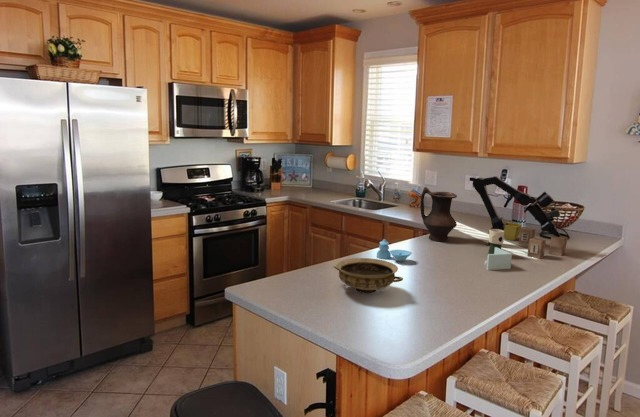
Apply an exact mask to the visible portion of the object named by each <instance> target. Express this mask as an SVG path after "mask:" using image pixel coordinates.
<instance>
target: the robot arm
mask: <svg viewBox="0 0 640 417" xmlns="http://www.w3.org/2000/svg"><path fill="white" fill-rule="evenodd" d="M491 185H494V186H496V187H498V188H499V189H501V190H502V191H504V192H506V193H507V194H509V195H510V196H512V197H513V198H514V199H515V200H516V201H517V202H518V203H519V204H520V205H521V206H523V213H526V212H528V213H530V215H531V216H532V217H533V218H534V220H535V221H537V222H538V223H539V225H540V226H541V227H540V230H541V231H542V232H543V233H544V232H547V233H550V234H551V235H556V236H558V237H559V236H561V233H559V231H558V229H557V227H556V221H555V218H556V217H560V216H561V213H560V211H559V209H558V208H555V207H552V208H551V209H550V210H549V211H545V210H543V209H542V208H544V209H546V208H547V207H549V206H550V205H551V204H552V203H554V202H555V200H554V198H553V197H552V196H551V195H550V194H548V193H547V192H546V191H543V192H542V193H541V194H540V195H539V196H538V197H535V196H531V195H530V194H528V193H526V192H524V191H521V190H519V189H516V188H515V187H513V186H512V185H510V184H509V183H507V182H506V181H503V180H502V179H501V178H499V177H498V176H491V177H485V178H484V177H477V178H475V179H474V180H473V181H472V188H474V190H475V191H476V192H477V194H478V195H479V196H480V198H481V200H482V202H483V204H484V207H485V210H486V211H487V213H488V215H489V217H490V220H491V221H490V222H491V225H492V226H491V228H490V229H499V230H503V231H504V229H505V224H506V222H505V220H504V217H503V216H501V217H500V215H499V214H498V212H497V210H496V208H495V206H494V204H493V201H492V199H491V197H490V195H489V193H488V188H487V186H491ZM487 232H488V234H489V231H487ZM490 244H491V243H490V242H489V239H488V242H487V243H485V245H486V246H488V247H490ZM500 245H501V246H502V245H503V244H500Z"/></svg>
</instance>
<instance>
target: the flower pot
mask: <svg viewBox="0 0 640 417" xmlns="http://www.w3.org/2000/svg"><path fill="white" fill-rule="evenodd" d="M505 223H506V224H505V229H504V240H507V241H508V240H509V241H515V240H517V238H519V236H520V229H521V228H522V224H521V223H515V222H508V221H507V222H505Z"/></svg>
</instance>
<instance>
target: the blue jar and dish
mask: <svg viewBox="0 0 640 417" xmlns="http://www.w3.org/2000/svg"><path fill="white" fill-rule="evenodd" d="M389 243H390V242H389V241H387V239H385V238H383V239H382V241H379V246H378V248H379V250H377V252H376V259H379V260H390V259H391V256H392V257H393V258H394V259H395V261H396V262H398V263H403V262H404V261H405V260H406V259H408V258H409V257H410V256H411V255H412V252H411V251H410V250H405V249H391V250H389V249H390V247H389V245H390V244H389Z"/></svg>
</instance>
